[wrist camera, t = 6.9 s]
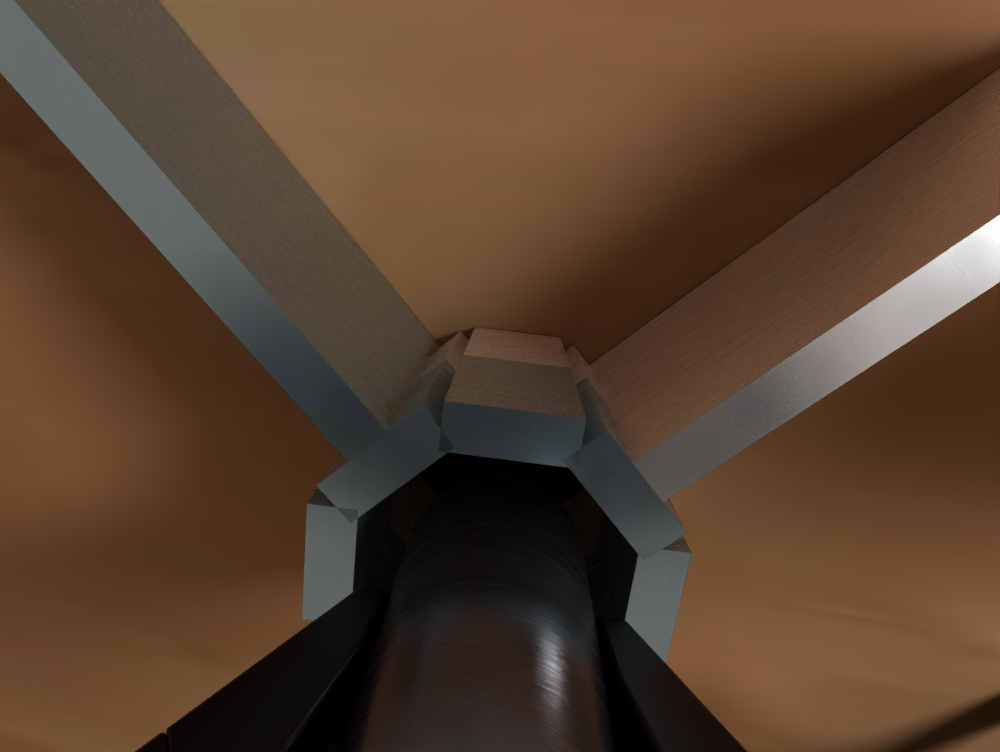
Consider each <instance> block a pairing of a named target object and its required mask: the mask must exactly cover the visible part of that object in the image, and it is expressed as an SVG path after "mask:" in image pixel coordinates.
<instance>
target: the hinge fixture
mask: <svg viewBox="0 0 1000 752" xmlns="http://www.w3.org/2000/svg"><path fill="white" fill-rule="evenodd" d="M0 73H1V74H2V75H3V76H4V77H5V78H6V80H7V81H8V82H9V83H10V84H11V85H12V86H13V87H14V89H15V90H16V91H17V92H18V93H19V94H20V95H21V96H22V98H23V99H24V100H25V101H26V102H27V103H28V104H29V105H30V106H31V108H32V109H33V110H34V111H35V112H36V113H37V114H38V115H39V117H40V118H41V119H42V120H43V121H44V122H45V123H46V124H47V126H48V127H49V128H50V129H51V130H52V131H53V132H54V133H55V134H56V136H57V137H58V138H59V139H60V140H61V141H62V142H63V143H64V145H65V146H66V147H67V148H68V149H69V150H70V151H71V152H72V154H73V155H74V156H75V157H76V158H77V159H78V160H79V161H80V162H81V164H82V165H83V166H84V167H85V168H86V169H87V170H88V171H89V173H90V174H91V175H92V176H93V177H94V178H95V179H96V180H97V181H98V183H99V184H100V185H101V186H102V187H103V188H104V189H105V190H106V192H107V193H108V194H109V195H110V196H111V197H112V198H113V199H114V201H115V202H116V203H117V204H118V205H119V206H120V207H121V208H122V209H123V211H124V212H125V213H126V214H127V215H128V216H129V217H130V218H131V220H132V221H133V222H134V223H135V224H136V225H137V226H138V227H139V229H140V230H141V231H142V232H143V233H144V234H145V235H146V236H147V237H148V239H149V240H150V241H151V242H152V243H153V244H154V245H155V246H156V248H157V249H158V250H159V251H160V252H161V253H162V254H163V255H164V256H165V258H166V259H167V260H168V261H169V262H170V263H171V264H172V265H173V267H174V268H175V269H176V270H177V271H178V272H179V273H180V274H181V276H182V277H183V278H184V279H185V280H186V281H187V282H188V283H189V284H190V286H191V287H192V288H193V289H194V290H195V291H196V292H197V293H198V295H199V296H200V297H201V298H202V299H203V300H204V301H205V302H206V304H207V305H208V306H209V307H210V308H211V309H212V310H213V311H214V312H215V314H216V315H217V316H218V317H219V318H220V319H221V320H222V321H223V323H224V324H225V325H226V326H227V327H228V328H229V329H230V330H231V332H232V333H233V334H234V335H235V336H236V337H237V338H238V339H239V340H240V342H241V343H242V344H243V345H244V346H245V347H246V348H247V349H248V351H249V352H250V353H251V354H252V355H253V356H254V357H255V358H256V359H257V361H258V362H259V363H260V364H261V365H262V366H263V367H264V368H265V370H266V371H267V372H268V373H269V374H270V375H271V376H272V377H273V379H274V380H275V381H276V382H277V383H278V384H279V385H280V386H281V387H282V389H283V390H284V391H285V392H286V393H287V394H288V395H289V396H290V398H291V399H292V400H293V401H294V402H295V403H296V404H297V405H298V407H299V408H300V409H301V410H302V411H303V412H304V413H305V414H306V415H307V417H308V418H309V419H310V420H311V421H312V422H313V423H314V424H315V426H316V427H317V428H318V429H319V430H320V431H321V432H322V433H323V435H324V436H325V437H326V438H327V439H328V440H329V441H330V442H331V443H332V445H333V446H334V447H335V448H336V449H337V450H338V451H339V452H340V455H339V457H338V458H337V459H336V460H335V462H334V463H333V464H332V466H331V467H330V468H329V470H328V471H327V472H326V474H325V475H324V476H323V478H322V479H321V480H320V481H319V483H318V484H317V485H316V486H317V487H318V489H317V491H316V492H315V493H314V495H313V496H312V497H311V499H310V500H309V501H308V503H307V513H306V536H305V560H304V584H303V608H302V619H304V620H312V621H314V620H315V619H317V618H318V617H320V616H321V615H322V614H324V613H325V612H326V611H328V610H329V609H330V608H332V607H333V606H335V605H336V604H337V603H339V602H340V601H341V600H343V599H344V598H345V597H347V596H348V595H350V594H351V593H352V592H354V591H355V590H356V589H358V588H359V587H361V586H370V587H378V588H386V589H388V590H389V592H390V593H391V590H392V587H393V585H394V582H395V579H396V576H397V573H398V570H399V568H400V565H401V562H402V559H403V556H404V553H405V550H406V548H407V545H408V542H409V539H410V536H411V533H412V531H413V528H414V525H415V523H416V521H417V519H418V517H419V516H420V514H421V513H422V511H423V510H424V509H425V508H426V506H427V505H428V504H429V503H430V502H431V501H432V500H433V499H434V498H436V497H437V496H438V495H437V494H436V493H435V491H434V490H433V489H432V488H431V487H430V486H429V485H428V483H427V482H426V481H425V480H424V479H423V478H422V477H421V475H420V474H419V473H420V472H421V471H423V470H424V469H426V468H427V467H428V466H430V465H431V464H432V463H434V462H435V461H437V460H438V459H439V458H441V457H442V456H443V455H445V454H446V453H447V452H450V453H458V454H466V455H474V456H481V457H489V458H497V459H505V460H513V461H520V462H528V463H536V464H544V465H552V466H559V467H567V468H569V469H570V470H571V471H572V472H573V474H574V475H575V476H576V477H577V479H578V480H579V481H580V482H581V484H582V485H583V490H582V491H580V492H579V493H577V494H576V495H574V496H573V497H572V498H570V499H569V500H567V501H566V502H564V503H563V504H561V506H562V507H563V508H564V509H565V510H566V511H567V513H568V514H569V515H570V517H571V518H572V520H573V522H574V524H575V526H576V528H577V530H578V533H579V536H580V539H581V544H582V550H583V555H584V561H585V567H586V572H587V578H588V583H589V589H590V595H591V600H592V606H593V612H594V617H595V620H596V619H597V618H598V617H600V616H602V617H610V618H618V619H623V620H625V621H627V622H628V623H629V624H630V625H631V626H632V627H633V629H634V630H635V631H636V632H637V633H638V634H639V635H640V636H641V637H642V638H643V639H644V640H645V641H646V643H647V644H648V645H649V646H650V647H651V648H652V649H653V650H654V651H655V652H656V653H657V654H658V656H659V657H660V658H661V659H662V660H663V661H664V662H665V663H666V660H667V656H668V652H669V648H670V643H671V639H672V635H673V630H674V626H675V622H676V617H677V613H678V609H679V605H680V600H681V596H682V592H683V587H684V583H685V579H686V575H687V570H688V566H689V562H690V557H691V551H690V549H689V547H688V545H687V543H686V541H685V539H684V537H683V535H685V534H686V533H687V532H686V530H685V528H684V526H683V524H682V522H681V520H680V518H679V517H678V515H677V513H676V511H675V509H674V507H673V505H672V503H671V501H670V499H669V498H670V497H672V496H673V495H675V494H676V493H678V492H679V491H681V490H682V489H684V488H686V487H687V486H689V485H690V484H692V483H693V482H695V481H696V480H698V479H699V478H701V477H702V476H704V475H705V474H707V473H708V472H710V471H712V470H713V469H715V468H716V467H718V466H719V465H721V464H722V463H724V462H725V461H727V460H728V459H730V458H731V457H733V456H734V455H736V454H738V453H739V452H741V451H742V450H744V449H745V448H747V447H748V446H750V445H751V444H753V443H754V442H756V441H757V440H759V439H760V438H762V437H764V436H765V435H767V434H768V433H770V432H771V431H773V430H774V429H776V428H777V427H779V426H780V425H782V424H783V423H785V422H786V421H788V420H790V419H791V418H793V417H794V416H796V415H797V414H799V413H800V412H802V411H803V410H805V409H806V408H808V407H809V406H811V405H812V404H814V403H815V402H817V401H819V400H820V399H822V398H823V397H825V396H826V395H828V394H829V393H831V392H832V391H834V390H835V389H837V388H838V387H840V386H841V385H843V384H845V383H846V382H848V381H849V380H851V379H852V378H854V377H855V376H857V375H858V374H860V373H861V372H863V371H864V370H866V369H867V368H869V367H871V366H872V365H874V364H875V363H877V362H878V361H880V360H881V359H883V358H884V357H886V356H887V355H889V354H890V353H892V352H893V351H895V350H897V349H898V348H900V347H901V346H903V345H904V344H906V343H907V342H909V341H910V340H912V339H913V338H915V337H916V336H918V335H919V334H921V333H923V332H924V331H926V330H927V329H929V328H930V327H932V326H933V325H935V324H936V323H938V322H939V321H941V320H942V319H944V318H945V317H947V316H949V315H950V314H952V313H953V312H955V311H956V310H958V309H959V308H961V307H962V306H964V305H965V304H967V303H968V302H970V301H971V300H973V299H975V298H976V297H978V296H979V295H981V294H982V293H984V292H985V291H987V290H988V289H990V288H991V287H993V286H994V285H996V284H997V283H999V282H1000V68H999V69H998V70H996V71H995V72H994V73H992V74H991V75H989V76H988V77H987V78H985V79H984V80H982V81H981V82H980V83H978V84H977V85H976V86H974V87H973V88H971V89H970V90H969V91H967V92H966V93H965V94H963V95H962V96H960V97H959V98H958V99H956V100H955V101H954V102H952V103H951V104H949V105H948V106H947V107H945V108H944V109H942V110H941V111H940V112H938V113H937V114H936V115H934V116H933V117H931V118H930V119H929V120H927V121H926V122H925V123H923V124H922V125H920V126H919V127H918V128H916V129H915V130H913V131H912V132H911V133H909V134H908V135H907V136H905V137H904V138H902V139H901V140H900V141H898V142H897V143H896V144H894V145H893V146H891V147H890V148H889V149H887V150H886V151H885V152H883V153H882V154H880V155H879V156H878V157H876V158H875V159H873V160H872V161H871V162H869V163H868V164H867V165H865V166H864V167H862V168H861V169H860V170H858V171H857V172H856V173H854V174H853V175H851V176H850V177H849V178H847V179H846V180H844V181H843V182H842V183H840V184H839V185H838V186H836V187H835V188H833V189H832V190H831V191H829V192H828V193H827V194H825V195H824V196H822V197H821V198H820V199H818V200H817V201H816V202H814V203H813V204H811V205H810V206H809V207H807V208H806V209H804V210H803V211H802V212H800V213H799V214H798V215H796V216H795V217H793V218H792V219H791V220H789V221H788V222H787V223H785V224H784V225H782V226H781V227H780V228H778V229H777V230H775V231H774V232H773V233H771V234H770V235H769V236H767V237H766V238H764V239H763V240H762V241H760V242H759V243H758V244H756V245H755V246H753V247H752V248H751V249H749V250H748V251H747V252H745V253H744V254H742V255H741V256H740V257H738V258H737V259H735V260H734V261H733V262H731V263H730V264H729V265H727V266H726V267H724V268H723V269H722V270H720V271H719V272H718V273H716V274H715V275H713V276H712V277H711V278H709V279H708V280H706V281H705V282H704V283H702V284H701V285H700V286H698V287H697V288H695V289H694V290H693V291H691V292H690V293H689V294H687V295H686V296H684V297H683V298H682V299H680V300H679V301H678V302H676V303H675V304H673V305H672V306H671V307H669V308H668V309H666V310H665V311H664V312H662V313H661V314H660V315H658V316H657V317H655V318H654V319H653V320H651V321H650V322H649V323H647V324H646V325H644V326H643V327H642V328H640V329H639V330H637V331H636V332H635V333H633V334H632V335H631V336H629V337H628V338H626V339H625V340H624V341H622V342H621V343H620V344H618V345H617V346H615V347H614V348H613V349H611V350H610V351H609V352H607V353H606V354H604V355H603V356H602V357H600V358H599V359H597V360H596V361H595V362H593V363H592V364H591V365H588V363H587V362H586V361H585V359H584V358H583V357H582V356H581V354H580V353H579V352H578V350H577V349H576V348H575V346H574V345H573V346H571V347H570V348H569V349H567V350H566V351H565V349H564V346H563V343H562V340H561V338H558V337H550V336H542V335H535V334H527V333H519V332H511V331H503V330H495V329H488V328H480V327H475V328H474V331H473V333H472V335H471V338H470V340H468V339H467V337H466V336H465V335H464V334H463V332H462V331H460V332H459V333H457V334H456V335H455V336H454V337H452V338H451V339H450V340H448V341H447V342H446V343H445V344H443V345H442V346H440V345H439V344H438V343H437V342H436V340H435V339H434V338H433V337H432V335H431V334H430V333H429V332H428V331H427V329H426V328H425V327H424V326H423V324H422V323H421V322H420V321H419V320H418V318H417V317H416V316H415V315H414V313H413V312H412V311H411V310H410V309H409V307H408V306H407V305H406V304H405V302H404V301H403V300H402V299H401V297H400V296H399V295H398V294H397V293H396V291H395V290H394V289H393V288H392V286H391V285H390V284H389V283H388V282H387V280H386V279H385V278H384V277H383V275H382V274H381V273H380V272H379V271H378V269H377V268H376V267H375V266H374V264H373V263H372V262H371V261H370V260H369V258H368V257H367V256H366V255H365V253H364V252H363V251H362V250H361V248H360V247H359V246H358V245H357V244H356V242H355V241H354V240H353V239H352V237H351V236H350V235H349V234H348V233H347V231H346V230H345V229H344V228H343V226H342V225H341V224H340V223H339V222H338V220H337V219H336V218H335V217H334V215H333V214H332V213H331V212H330V211H329V209H328V208H327V207H326V206H325V204H324V203H323V202H322V201H321V199H320V198H319V197H318V196H317V195H316V193H315V192H314V191H313V190H312V188H311V187H310V186H309V185H308V184H307V182H306V181H305V180H304V179H303V177H302V176H301V175H300V174H299V173H298V171H297V170H296V169H295V168H294V166H293V165H292V164H291V163H290V162H289V160H288V159H287V158H286V157H285V155H284V154H283V153H282V152H281V151H280V149H279V148H278V147H277V146H276V144H275V143H274V142H273V141H272V139H271V138H270V137H269V136H268V135H267V133H266V132H265V131H264V130H263V128H262V127H261V126H260V125H259V124H258V122H257V121H256V120H255V119H254V117H253V116H252V115H251V114H250V113H249V111H248V110H247V109H246V108H245V106H244V105H243V104H242V103H241V102H240V100H239V99H238V98H237V97H236V95H235V94H234V93H233V92H232V90H231V89H230V88H229V87H228V86H227V84H226V83H225V82H224V81H223V79H222V78H221V77H220V76H219V75H218V73H217V72H216V71H215V70H214V68H213V67H212V66H211V65H210V64H209V62H208V61H207V60H206V59H205V57H204V56H203V55H202V54H201V53H200V51H199V50H198V49H197V48H196V46H195V45H194V44H193V43H192V41H191V40H190V39H189V38H188V37H187V35H186V34H185V33H184V32H183V30H182V29H181V28H180V27H179V26H178V24H177V23H176V22H175V21H174V19H173V18H172V17H171V16H170V15H169V13H168V12H167V11H166V10H165V8H164V7H163V6H162V5H161V4H160V2H159V1H158V0H0Z"/></svg>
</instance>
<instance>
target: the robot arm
mask: <svg viewBox="0 0 1000 752" xmlns="http://www.w3.org/2000/svg"><path fill="white" fill-rule="evenodd" d="M389 597H390V592H389V590H388V589H386V588H378V587H370V586H361V587H359V588H358V589H356V590H355V591H354V592H352V593H351V594H350V595H348V596H347V597H345V598H344V599H343V600H341V601H340V602H339V603H337V604H336V605H335V606H333V607H332V608H330V609H329V610H328V611H326V612H325V613H324V614H322V615H321V616H320V617H318V618H317V619H315V620H314V621H313V622H311V623H310V624H309V625H307V626H306V627H305V628H303V629H302V630H300V631H299V632H298V633H296V634H295V635H294V636H292V637H291V638H290V639H288V640H287V641H285V642H284V643H283V644H281V645H280V646H279V647H277V648H276V649H275V650H273V651H272V652H270V653H269V654H268V655H266V656H265V657H264V658H262V659H261V660H260V661H258V662H257V663H255V664H254V665H253V666H251V667H250V668H249V669H247V670H246V671H245V672H243V673H242V674H241V675H239V676H238V677H236V678H235V679H234V680H232V681H231V682H230V683H228V684H227V685H226V686H224V687H223V688H221V689H220V690H219V691H217V692H216V693H215V694H213V695H212V696H211V697H209V698H208V699H206V700H205V701H204V702H202V703H201V704H200V705H198V706H197V707H196V708H194V709H193V710H191V711H190V712H189V713H187V714H186V715H185V716H183V717H182V718H181V719H179V720H178V721H176V722H175V723H174V724H172V725H171V726H170V727H168V728H167V730H166V734H165V733H160V734H158V735H157V736H156V737H154V738H153V739H151V740H150V741H149V742H147V743H146V744H145V745H143V746H142V747H141V748H139V749H138V750H136V751H135V752H335V750H336V747H337V744H338V741H339V738H340V735H341V733H342V730H343V727H344V724H345V721H346V718H347V715H348V713H349V710H350V707H351V704H352V701H353V698H354V696H355V693H356V690H357V687H358V684H359V681H360V678H361V676H362V673H363V670H364V667H365V665H366V662H367V659H368V656H369V654H370V651H371V648H372V645H373V642H374V639H375V637H376V634H377V631H378V628H379V625H380V622H381V619H382V617H383V614H384V611H385V608H386V605H387V602H388V600H389ZM595 623H596V629H597V634H598V640H599V646H600V651H601V657H602V663H603V668H604V674H605V680H606V685H607V691H608V696H609V702H610V708H611V713H612V719H613V725H614V730H615V736H616V741H617V747H618V752H747V751H746V750H745V749H744V748H743V746H742V745H741V744H740V743H739V742H738V741H737V740H736V739H735V738H734V737H733V736H732V735H731V733H730V732H729V731H728V730H727V729H726V728H725V727H724V726H723V725H722V724H721V723H720V722H719V721H718V719H717V718H716V717H715V716H714V715H713V714H712V713H711V712H710V711H709V710H708V709H707V708H706V706H705V705H704V704H703V703H702V702H701V701H700V700H699V699H698V698H697V697H696V696H695V695H694V693H693V692H692V691H691V690H690V689H689V688H688V687H687V686H686V685H685V684H684V683H683V682H682V680H681V679H680V678H679V677H678V676H677V675H676V674H675V673H674V672H673V671H672V670H671V669H670V667H669V666H668V665H667V664H666V663H665V662H664V661H663V660H662V659H661V658H660V657H659V656H658V654H657V653H656V652H655V651H654V650H653V649H652V648H651V647H650V646H649V645H648V644H647V643H646V641H645V640H644V639H643V638H642V637H641V636H640V635H639V634H638V633H637V632H636V631H635V630H634V629H633V627H632V626H631V625H630V624H629V623H628V622H627V621H625V620H623V619H618V618H610V617H602V616H600V617H598V618H597V619H596V620H595Z"/></svg>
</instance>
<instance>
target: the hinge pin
mask: <svg viewBox="0 0 1000 752" xmlns="http://www.w3.org/2000/svg"><path fill="white" fill-rule="evenodd" d="M335 752H618V747H617V741H616V736H615V730H614V725H613V719H612V713H611V708H610V702H609V696H608V691H607V685H606V680H605V674H604V668H603V663H602V657H601V651H600V646H599V640H598V634H597V629H596V623H595V617H594V612H593V606H592V600H591V595H590V589H589V583H588V578H587V572H586V567H585V561H584V555H583V550H582V544H581V539H580V536H579V533H578V530H577V528H576V526H575V524H574V522H573V520H572V518H571V517H570V515H569V514H568V513H567V511H566V510H565V509H564V508H563V507H562V506H561V505H560V504H559V502H558V501H556V500H555V499H554V498H553V497H551V496H550V495H549V494H547V493H546V492H544V491H542V490H541V489H539V488H537V487H535V486H533V485H530V484H528V483H525V482H522V481H519V480H514V479H509V478H499V477H488V478H479V479H473V480H469V481H466V482H462V483H459V484H457V485H455V486H453V487H451V488H449V489H447V490H446V491H444V492H442V493H441V494H439V495H438V496H437V497H436V498H434V499H433V500H432V501H431V502H430V503H429V504H428V505H427V506H426V508H425V509H424V510H423V511H422V513H421V514H420V516H419V517H418V519H417V521H416V523H415V525H414V528H413V531H412V533H411V536H410V539H409V542H408V545H407V548H406V550H405V553H404V556H403V559H402V562H401V565H400V568H399V570H398V573H397V576H396V579H395V582H394V585H393V587H392V590H391V593H390V597H389V600H388V602H387V605H386V608H385V611H384V614H383V617H382V619H381V622H380V625H379V628H378V631H377V634H376V637H375V639H374V642H373V645H372V648H371V651H370V654H369V656H368V659H367V662H366V665H365V667H364V670H363V673H362V676H361V678H360V681H359V684H358V687H357V690H356V693H355V696H354V698H353V701H352V704H351V707H350V710H349V713H348V715H347V718H346V721H345V724H344V727H343V730H342V733H341V735H340V738H339V741H338V744H337V747H336V750H335Z"/></svg>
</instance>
